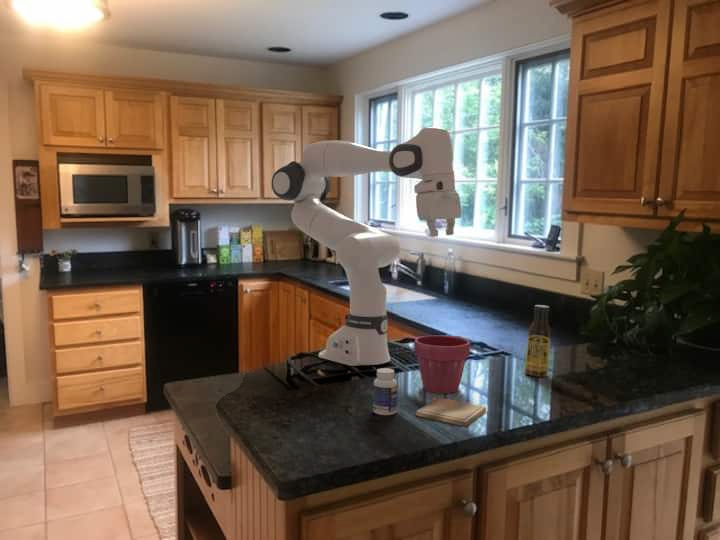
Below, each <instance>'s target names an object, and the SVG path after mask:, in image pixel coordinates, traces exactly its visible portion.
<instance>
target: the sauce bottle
mask: <svg viewBox="0 0 720 540" xmlns="http://www.w3.org/2000/svg"><path fill="white" fill-rule="evenodd" d="M533 308H534V309H533V310H534V316H533V317H534V318H533V321H532V323H530V325H529V328H528V336H527V344H526V354H525V366H524V367H525V370H524V372H525V374H526V375H529V376H531V377H539V378H540V377H541V378H544V377H546V376H547V375H548V371H549V361H550V360H549V359H550V351H551V335H552V328H551V327H550V324H549V313H550V306H548V305H544V304H535V305H534V307H533Z"/></svg>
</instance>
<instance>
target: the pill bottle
mask: <svg viewBox="0 0 720 540" xmlns="http://www.w3.org/2000/svg"><path fill="white" fill-rule="evenodd" d="M394 377H395V370H394V369H392V368H388V367H386V368H385V367H384V368H383V367H382V368H378V369H376V378H375V379H374V381H373V388H372V391H373V397H372V410H373V413H375V414H377V415H378V416H379V415H380V416H392V415H394V414H395V413H396V412H397V407H398V406H397V404H398V401H397V400H398V382H397V380H396V379H395V378H394Z"/></svg>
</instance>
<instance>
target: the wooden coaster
mask: <svg viewBox="0 0 720 540" xmlns="http://www.w3.org/2000/svg"><path fill="white" fill-rule="evenodd" d="M485 412H487V406H484V405H479V404H475V403H474V404H473V403H468V402H464V401H463V402H462V401H458V400H454V399H448V398H444V397H443V398H442V397H437V398H436V399H434V400H432V401H431V402H429V403H427V404H426V405H424V406H422V407H421V408H419V409H417V410H416V412H415V415H416V416H418V417H422V418H426V419H430V420H435V421H439V422H445V423H449V424H452V425H458V426H462V427H467V426H469V425H470V424H471V423H473V422H474V421H475V420H476V419H478V418H479V417H481V416H482V415H483V414H485Z"/></svg>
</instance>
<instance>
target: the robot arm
mask: <svg viewBox="0 0 720 540" xmlns="http://www.w3.org/2000/svg"><path fill="white" fill-rule="evenodd" d="M451 138H452V137H451V134H450V133H449V131H448V130H447V129H444V128H442V127H434V126H427V127H423V128H421V129H420V131H419V132H418V133H417V134H416V135H414V136H413V137H412V138H410V139H408V140H406V141H404V142H403V143H400V144H398V145H396V146H395V147H393V148H392V150H381V149H380V150H379V149H376V148H372V147H368V146H365V145H362V144H358V143H354V142H352V141H346V140H337V139H335V140H322V141H316V142H312V143H309V144H307V145H306V146H305V148H304V149H303V151H302V154H301V155H302V156H301V160H300V161H299V162H297V161H295V160H292V161H291V162H289V163H288V164H287V165H284V166H282V167H279V169H277V170H276V171H275V172H274V173H273V175H272V178H271V183H270V184H271V189H272V191H273V194H274V195H275V196H276V197H278V198H279V199H281V200H284V201H288V202H289V201H293V204H294V206H293V207H292V210H291V213H290V214H291V216H290V217H291V220H292V223H293V224H294V226H296V227H297V228H298V229H299V230H300V231H302V232H303V233H304V234H306V235H307V236H308V237H310V238H311V239H313V240H315V241H317V243H320V244H322V245H323V246H324V247H327V248H329V249H330V250H331V251H335V254H336V259H337V261H338V263H339V264H340V266H341V267H342V268H343V269H344V271H345V275H346V279H347V281H348V286H349V313H346V315H342V316H341V317H342V319H341V320H343V321H345V322H344V325H342V326H341V327H339V328H338V329H337V330H336V331H334V332H333V333H332V334H331V335H330V336H328V337H327V341H326V344H325V345H326V346H325V349H323V350H321V351H320V352H318V358H319V359H324V360H327V361H328V360H329V361H331V362H334V363H335V362H336V363H339V364H343V365H347V366H350V367H351V366H352V367H353V366H373V365H374V366H375V365H382V364H385V363H388V362H390V361H391V356H390V353H389V347H388V338H387V332H388V314H387V291H388V290H387V288H386V286H385V285H384V284H383V282H382V279H381V277H380V276H381V275H380V272H379V268H384V267H385V268H386V267H387V266H389V265H390V264H392V263H394V262H395V261H396V260H397V259H398V258H399V255H400V251H401V250H400V249H401V247H400V243H399V240H397V238H396V237H395V236H394V235H392V234H389V233H387V232H383V231H381V230H379V229H377V228H374V227H372V226H370V225H366V224H364V223H361V222H359V221H357V220H353V219H351V218H349V217H347V216H346V215H344V214H341V213H339V212H338V211H336V210H334V209H332V208H330V207H329V206H327V205H325V204H324V203H325V202H326V200H327V196H328V195H329V191H330V188H331V180H330V178H341V177H343V178H345V177H346V178H347V177H352V176H358V175H363V174H364V175H365V174H370V173H379V172H386V173H387V172H388V173H393V174H394V175H395V176H398V177H401V178H406V179H408V178H409V179H418V180H421V181H419V182H417V184H416V183H415V185H414V187H413V191H414V193H415V194H416V196H415V205H416V206H415V207H416V213H417V217H418V219H419V220H420V221H426V226H427V228H428V230H429V236H430V237H431V238H435V237H439V230H438V229H437V226H436V224H437V221H438V220H446V225H447V226H446V228H445V234H446V236H454V234H455V232H454V228H455V225H456V219H460V218H462V214H463V213H462V212H463V211H462V203H461V197H460V195H459V192H457V190H456V181H455V171H454V169H453V161H454V154H453V146H452V140H451Z"/></svg>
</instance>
